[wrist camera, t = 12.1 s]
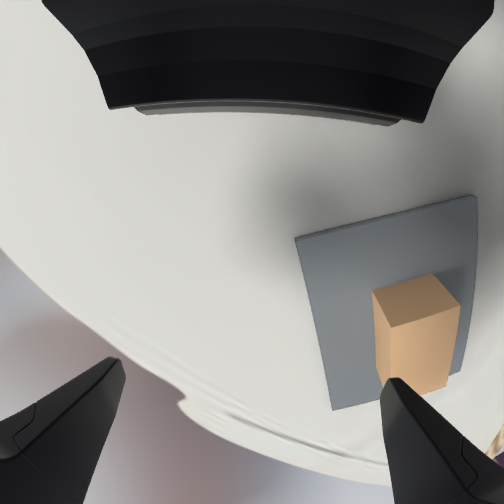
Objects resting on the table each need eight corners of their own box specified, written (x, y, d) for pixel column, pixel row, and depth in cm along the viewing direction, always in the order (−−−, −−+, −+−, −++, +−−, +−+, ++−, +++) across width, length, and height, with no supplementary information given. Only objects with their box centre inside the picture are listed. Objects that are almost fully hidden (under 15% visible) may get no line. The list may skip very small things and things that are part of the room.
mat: (294, 238, 19) (295, 241, 19) (472, 195, 17) (476, 196, 17) (331, 406, 26) (332, 410, 25) (457, 367, 23) (460, 371, 23)
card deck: (376, 366, 23) (388, 405, 19) (371, 290, 20) (391, 327, 16) (427, 351, 22) (445, 386, 18) (432, 273, 19) (460, 305, 15)
